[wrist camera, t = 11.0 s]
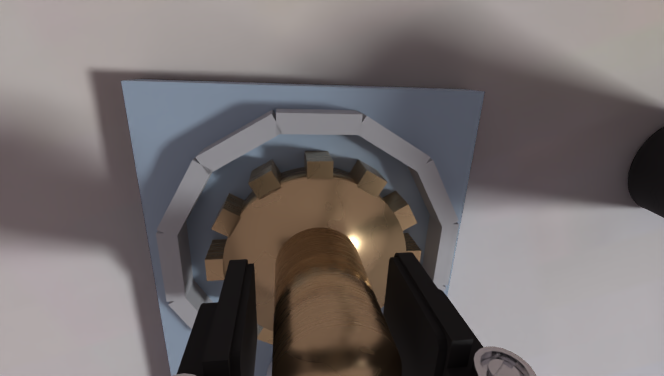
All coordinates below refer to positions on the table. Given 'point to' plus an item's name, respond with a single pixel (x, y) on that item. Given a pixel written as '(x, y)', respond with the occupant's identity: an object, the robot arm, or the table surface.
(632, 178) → the drinking cup
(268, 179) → the bronze gear
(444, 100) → the carrier plate
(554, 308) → the table surface
